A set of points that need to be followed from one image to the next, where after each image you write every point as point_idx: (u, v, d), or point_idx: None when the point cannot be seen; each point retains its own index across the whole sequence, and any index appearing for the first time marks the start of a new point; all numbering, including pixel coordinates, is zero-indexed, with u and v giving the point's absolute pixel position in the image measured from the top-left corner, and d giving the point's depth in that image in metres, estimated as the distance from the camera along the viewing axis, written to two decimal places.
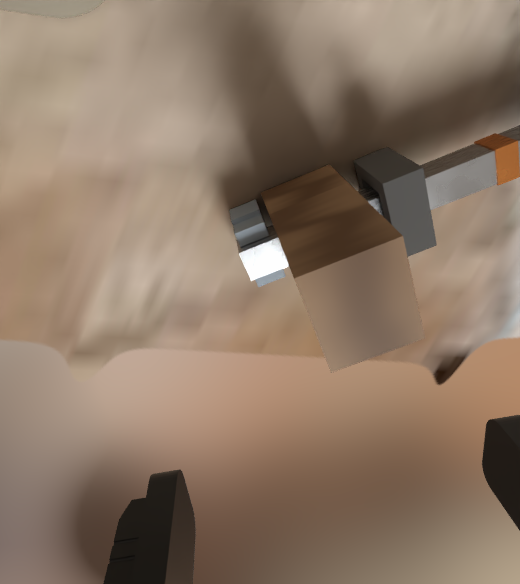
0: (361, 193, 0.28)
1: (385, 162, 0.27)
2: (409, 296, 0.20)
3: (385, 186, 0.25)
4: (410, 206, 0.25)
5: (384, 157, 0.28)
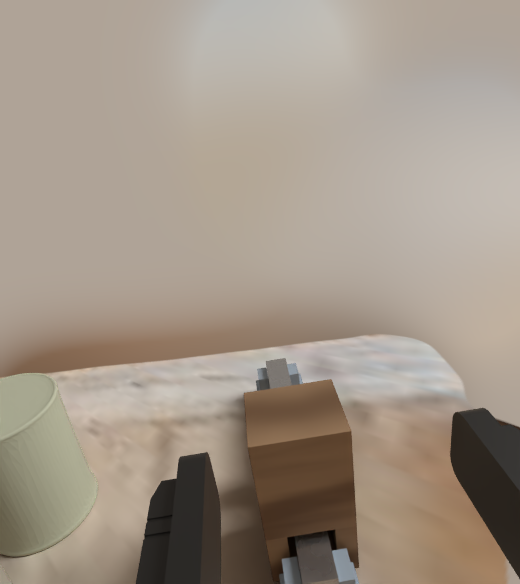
0: None
1: None
2: (291, 388, 0.29)
3: None
4: None
5: None
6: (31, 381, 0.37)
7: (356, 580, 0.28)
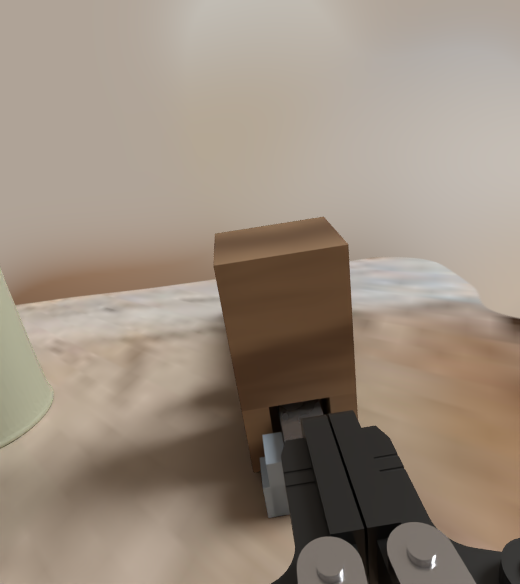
0: None
1: None
2: (273, 225, 0.23)
3: None
4: None
5: None
6: None
7: None
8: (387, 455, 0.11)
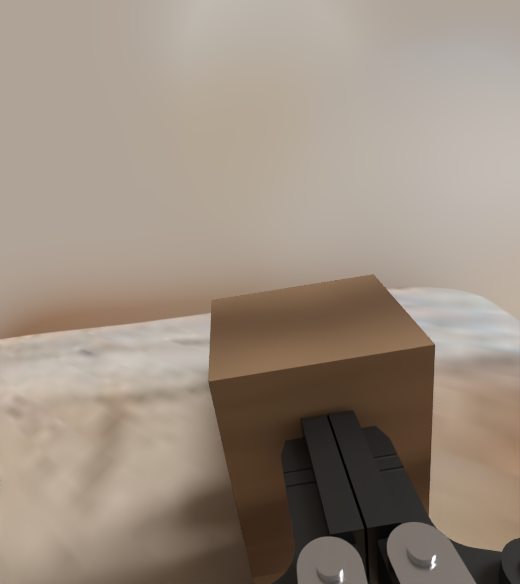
0: None
1: None
2: (300, 289, 0.16)
3: None
4: None
5: None
6: None
7: None
8: (387, 455, 0.11)
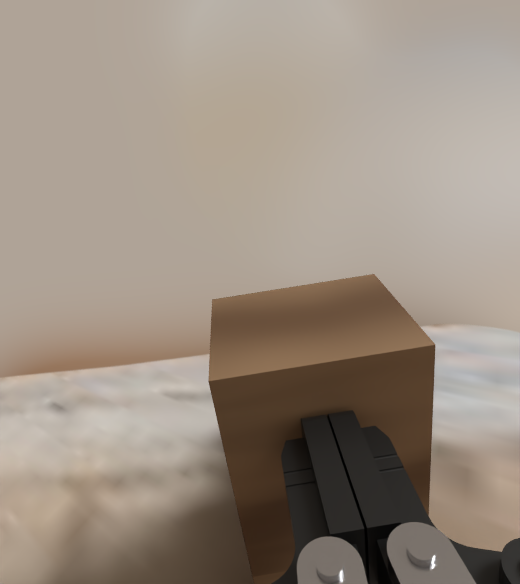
0: None
1: None
2: (300, 288, 0.16)
3: None
4: None
5: None
6: None
7: None
8: (387, 455, 0.11)
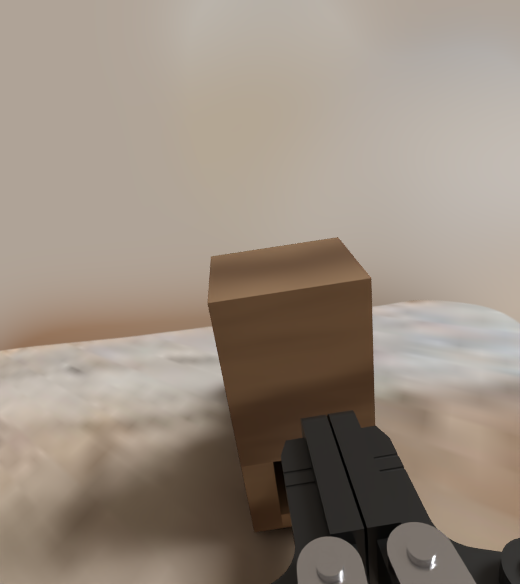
0: None
1: None
2: (279, 248, 0.20)
3: None
4: None
5: None
6: None
7: None
8: (387, 455, 0.11)
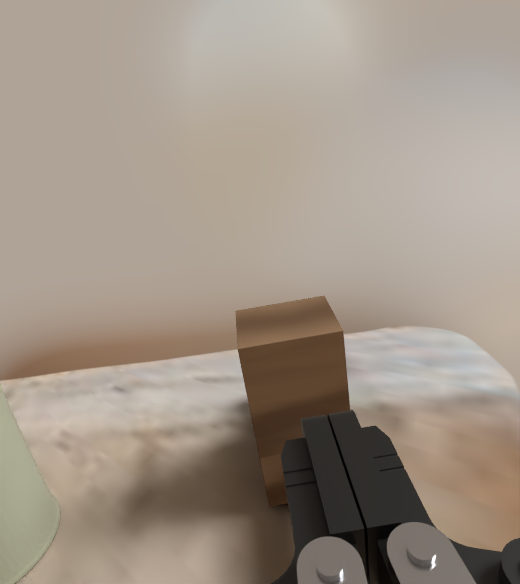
0: None
1: None
2: (283, 304, 0.29)
3: None
4: None
5: None
6: None
7: None
8: (387, 455, 0.11)
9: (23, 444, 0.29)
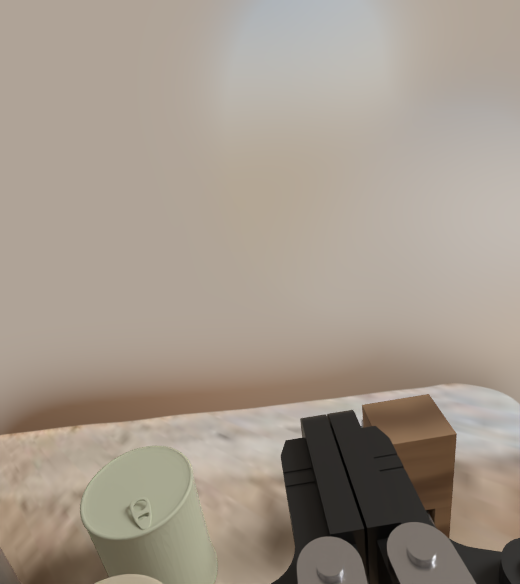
0: None
1: None
2: (399, 401, 0.38)
3: None
4: None
5: None
6: (160, 456, 0.38)
7: None
8: (387, 455, 0.11)
9: None
